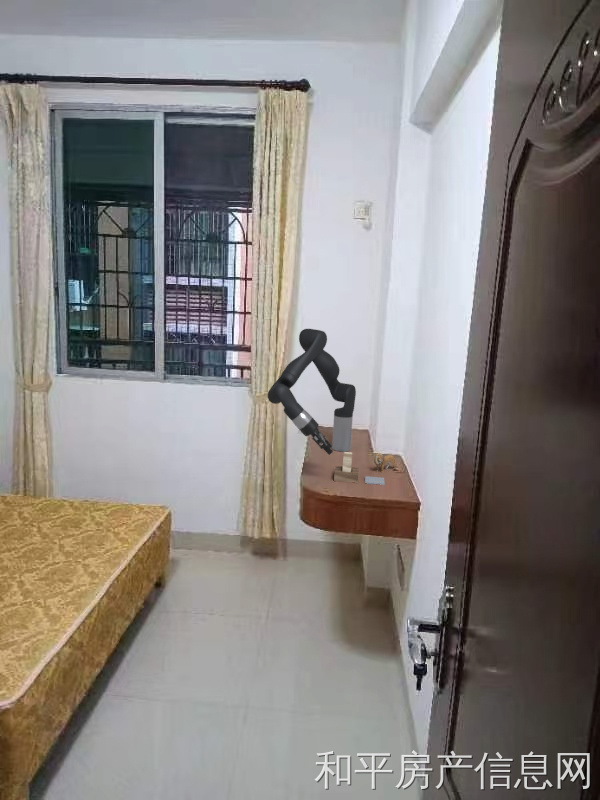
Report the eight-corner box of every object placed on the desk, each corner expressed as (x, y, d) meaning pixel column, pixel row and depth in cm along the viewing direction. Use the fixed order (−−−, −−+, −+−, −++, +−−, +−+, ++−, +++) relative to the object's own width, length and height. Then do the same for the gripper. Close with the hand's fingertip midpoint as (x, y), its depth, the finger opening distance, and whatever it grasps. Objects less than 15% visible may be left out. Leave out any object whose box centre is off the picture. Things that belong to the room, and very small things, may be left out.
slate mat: (365, 477, 255) (365, 476, 255) (383, 479, 254) (384, 477, 254) (365, 483, 247) (365, 482, 247) (384, 485, 246) (384, 483, 246)
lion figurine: (379, 475, 259) (381, 455, 257) (369, 472, 263) (371, 452, 261) (398, 468, 270) (400, 449, 268) (389, 466, 273) (390, 447, 272)
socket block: (335, 473, 258) (335, 465, 257) (358, 475, 257) (358, 467, 256) (333, 480, 248) (334, 472, 247) (357, 482, 247) (358, 474, 246)
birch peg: (342, 476, 254) (343, 451, 252) (350, 477, 254) (352, 452, 252) (341, 479, 251) (343, 454, 249) (350, 479, 251) (352, 454, 248)
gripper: (311, 420, 240) (338, 449, 243) (311, 413, 254) (336, 440, 257) (298, 432, 241) (324, 461, 244) (298, 424, 255) (323, 451, 258)
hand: (330, 450), depth 250 cm, fingers open, 8 cm apart
